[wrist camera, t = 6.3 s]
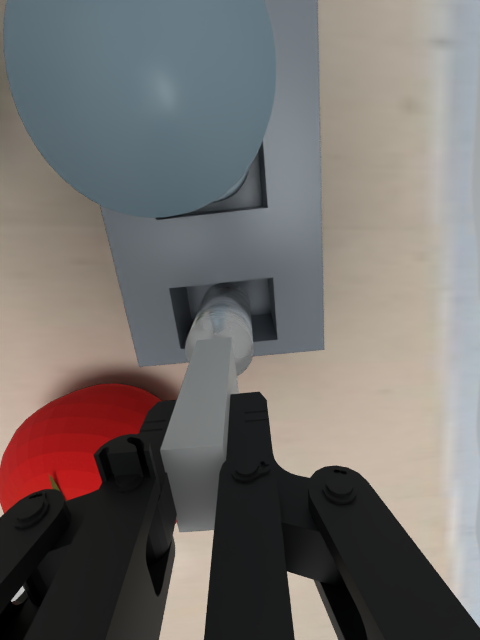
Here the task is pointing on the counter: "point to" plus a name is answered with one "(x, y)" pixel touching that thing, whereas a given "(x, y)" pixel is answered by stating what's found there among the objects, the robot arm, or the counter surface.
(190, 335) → the plunger
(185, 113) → the cartridge
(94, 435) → the tomato
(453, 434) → the counter surface
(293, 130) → the housing
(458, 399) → the counter surface
